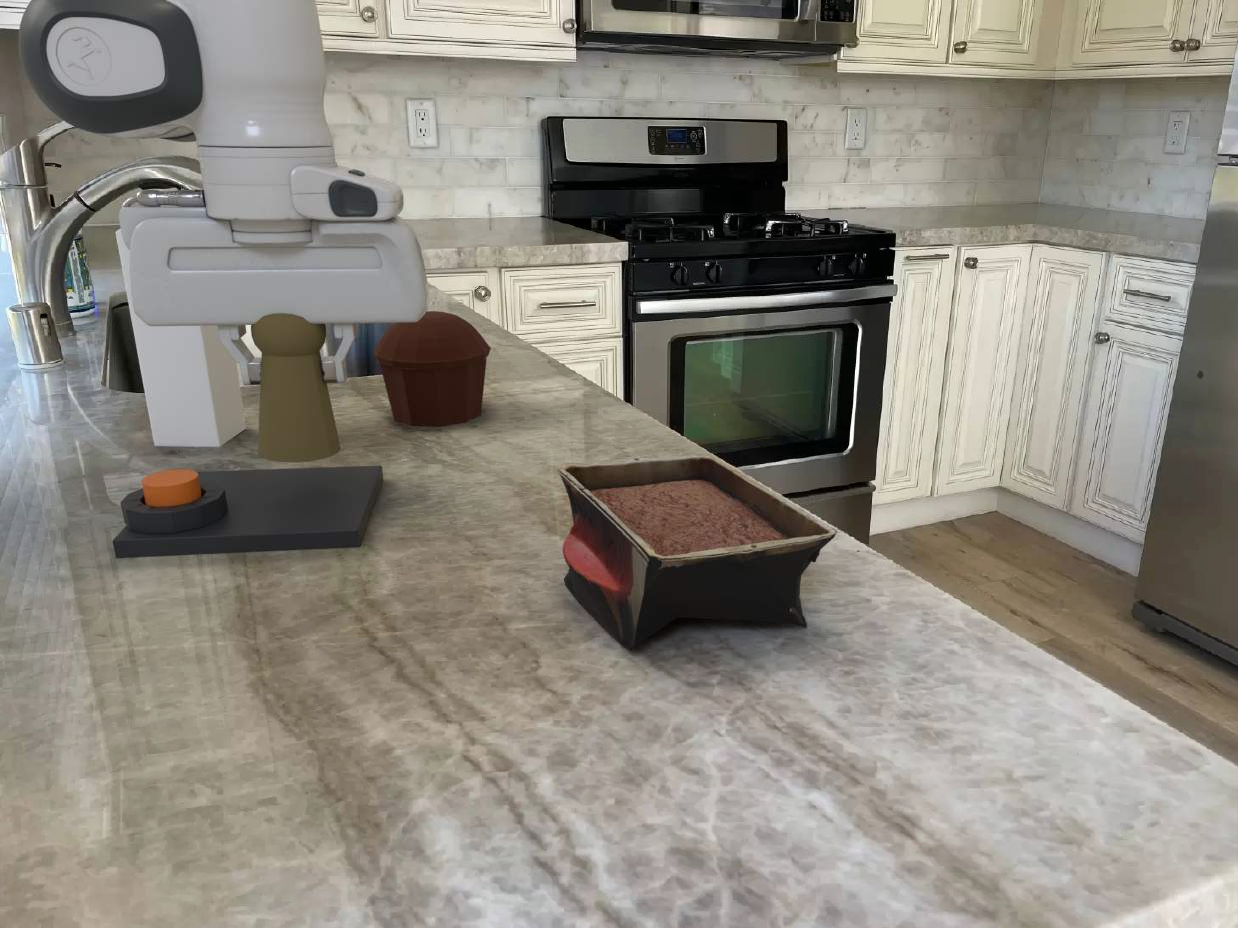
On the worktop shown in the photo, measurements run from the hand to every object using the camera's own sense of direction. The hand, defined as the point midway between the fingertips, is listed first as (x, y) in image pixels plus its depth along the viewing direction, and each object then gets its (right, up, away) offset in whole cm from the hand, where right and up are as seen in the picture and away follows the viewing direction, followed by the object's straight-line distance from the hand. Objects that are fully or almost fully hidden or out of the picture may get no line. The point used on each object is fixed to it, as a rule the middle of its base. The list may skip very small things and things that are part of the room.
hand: (297, 382), depth 76 cm
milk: (-16, -3, +18) cm, 24 cm away
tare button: (-7, -9, -4) cm, 12 cm away
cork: (0, -5, +2) cm, 5 cm away
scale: (-3, -10, 0) cm, 10 cm away
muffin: (+4, 0, +27) cm, 27 cm away
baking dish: (+29, -15, -12) cm, 35 cm away
